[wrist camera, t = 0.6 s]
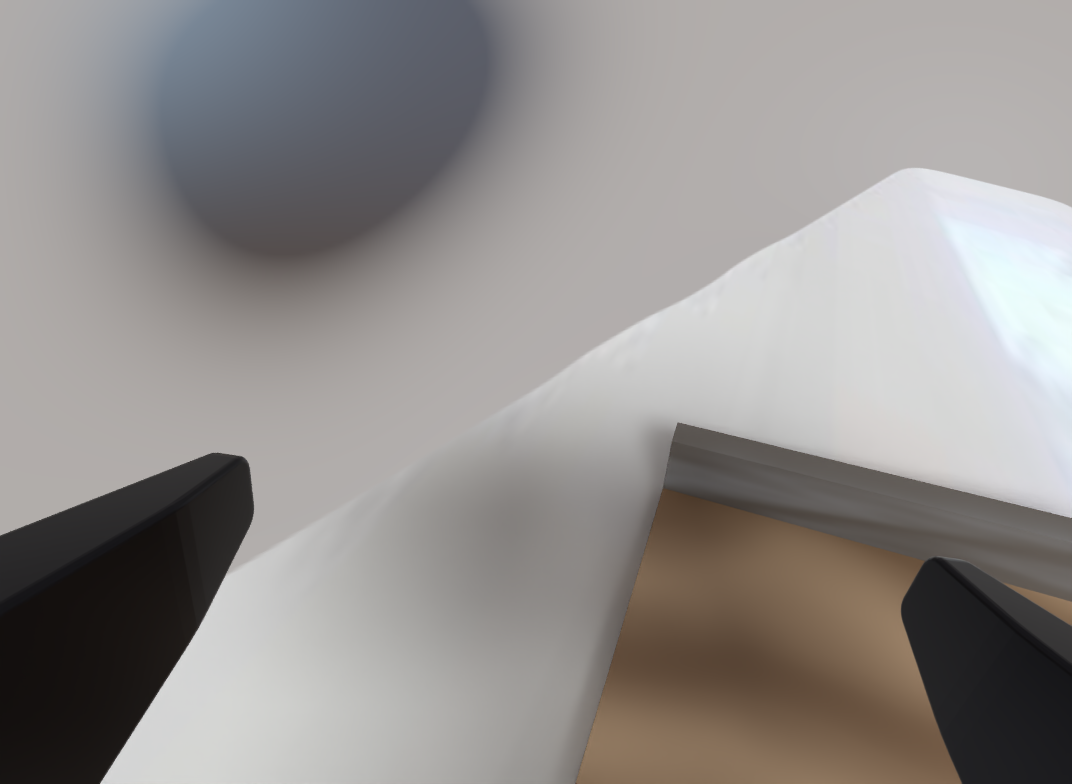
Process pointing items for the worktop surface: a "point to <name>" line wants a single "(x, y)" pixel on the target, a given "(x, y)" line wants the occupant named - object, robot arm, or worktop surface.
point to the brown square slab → (795, 619)
